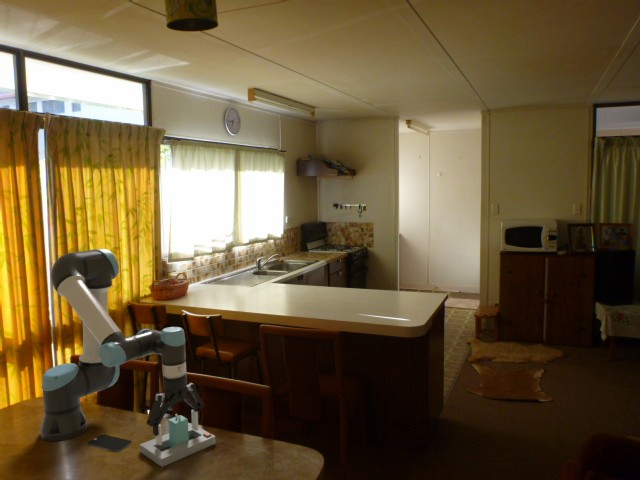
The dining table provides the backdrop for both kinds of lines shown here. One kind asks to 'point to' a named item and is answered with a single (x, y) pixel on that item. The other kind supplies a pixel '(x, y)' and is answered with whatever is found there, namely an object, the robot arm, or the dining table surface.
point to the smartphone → (109, 443)
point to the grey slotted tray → (177, 447)
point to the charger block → (178, 430)
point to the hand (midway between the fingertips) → (177, 436)
